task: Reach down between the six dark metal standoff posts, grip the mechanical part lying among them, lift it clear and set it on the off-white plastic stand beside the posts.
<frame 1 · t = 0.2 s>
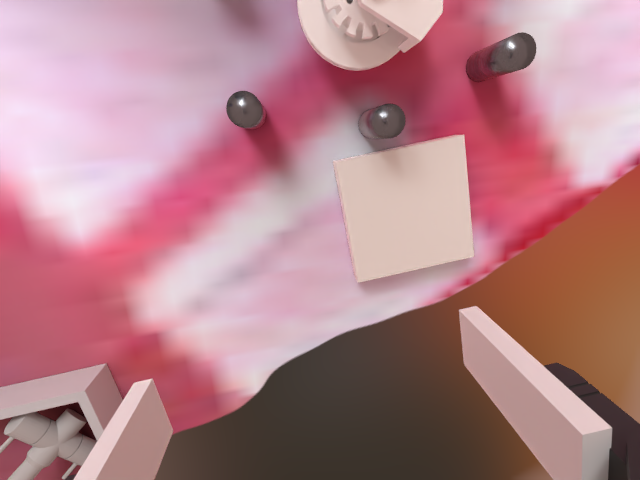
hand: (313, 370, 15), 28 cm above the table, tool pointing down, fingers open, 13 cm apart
storage bin: (21, 447, 47), on the table
faucet: (25, 447, 47), resting in storage bin
standoff posts: (355, 17, 36), on the table
parts stand: (401, 207, 42), on the table
mechanical part: (355, 17, 36), on the table
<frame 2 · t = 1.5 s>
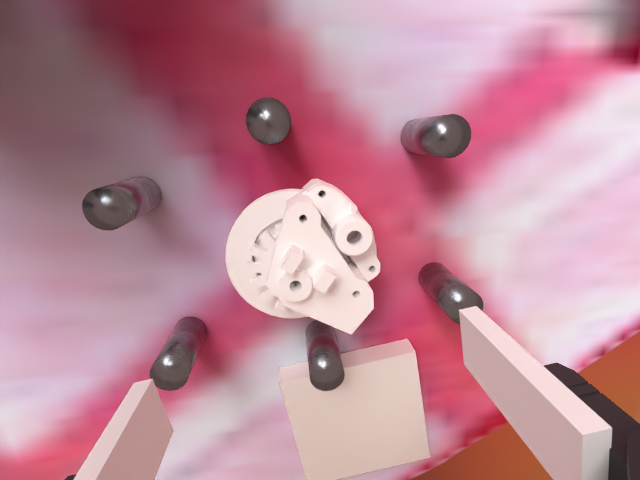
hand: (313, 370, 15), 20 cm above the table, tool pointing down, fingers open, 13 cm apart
standoff posts: (298, 238, 34), on the table
parts stand: (354, 405, 40), on the table
mechanical part: (298, 237, 34), on the table
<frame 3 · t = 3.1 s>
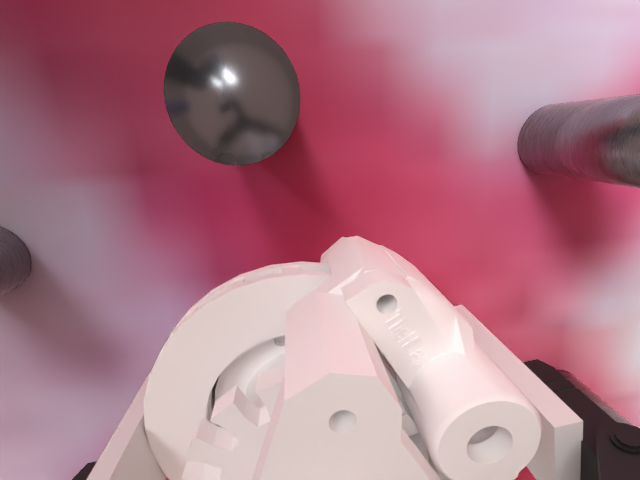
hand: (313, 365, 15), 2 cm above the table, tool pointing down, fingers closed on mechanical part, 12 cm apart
standoff posts: (309, 334, 18), on the table
mechanical part: (309, 332, 18), on the table, touching gripper
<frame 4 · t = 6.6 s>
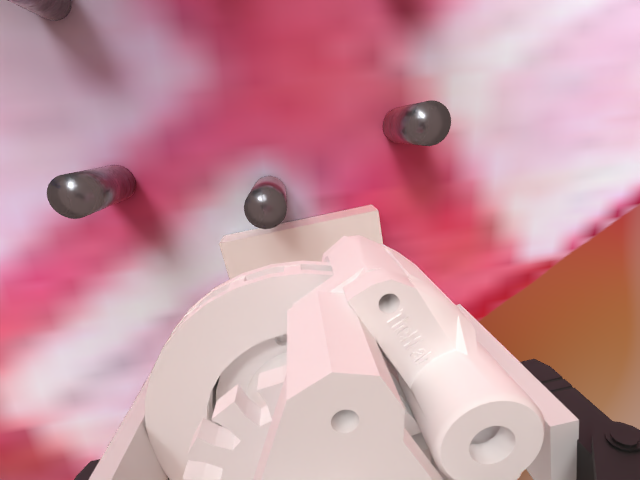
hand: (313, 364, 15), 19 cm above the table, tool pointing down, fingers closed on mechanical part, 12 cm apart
standoff posts: (239, 66, 29), on the table
parts stand: (312, 287, 35), on the table
mechanical part: (310, 331, 18), point 17 cm above the table, touching gripper
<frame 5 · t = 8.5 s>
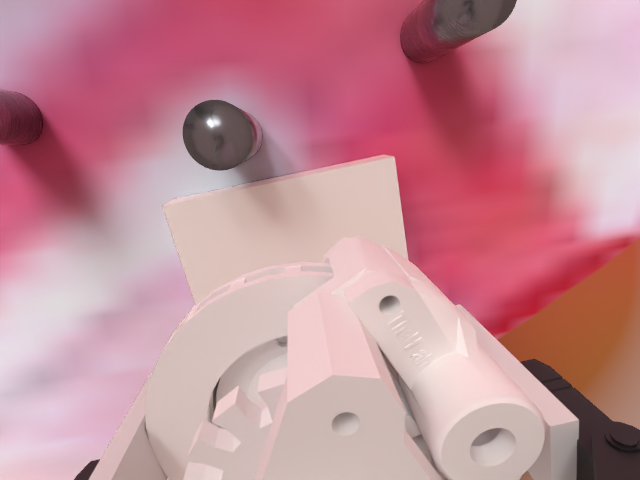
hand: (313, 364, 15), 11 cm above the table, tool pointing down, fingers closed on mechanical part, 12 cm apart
parts stand: (302, 273, 26), on the table
mechanical part: (311, 332, 18), point 8 cm above the table, touching gripper
when the fingers open (6 cm above the table, at t = 10.0 s): mechanical part drops 1 cm, resting on parts stand.
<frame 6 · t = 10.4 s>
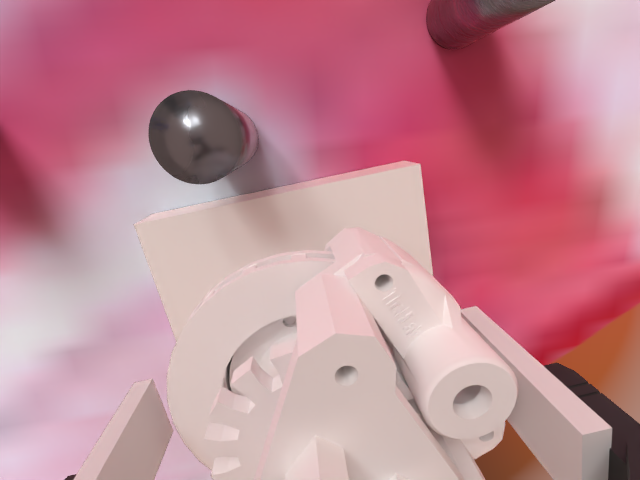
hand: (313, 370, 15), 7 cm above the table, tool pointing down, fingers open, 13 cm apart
parts stand: (306, 300, 22), on the table
mechanical part: (314, 319, 19), point 2 cm above the table, touching parts stand
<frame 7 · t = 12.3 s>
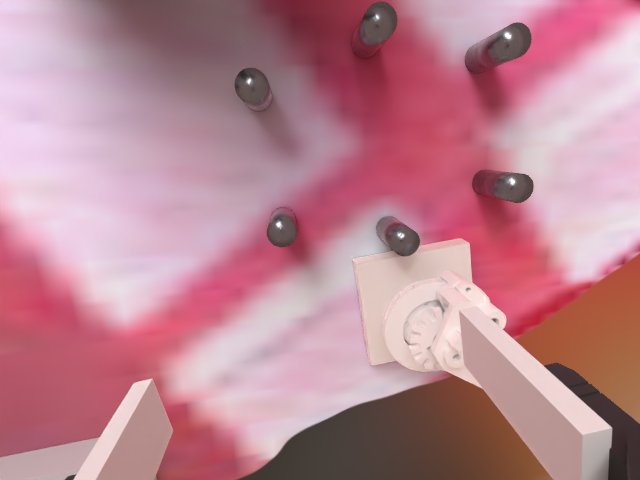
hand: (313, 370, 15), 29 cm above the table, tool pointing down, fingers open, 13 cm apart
standoff posts: (377, 141, 42), on the table
parts stand: (412, 298, 47), on the table
mechanical part: (420, 305, 45), point 2 cm above the table, touching parts stand
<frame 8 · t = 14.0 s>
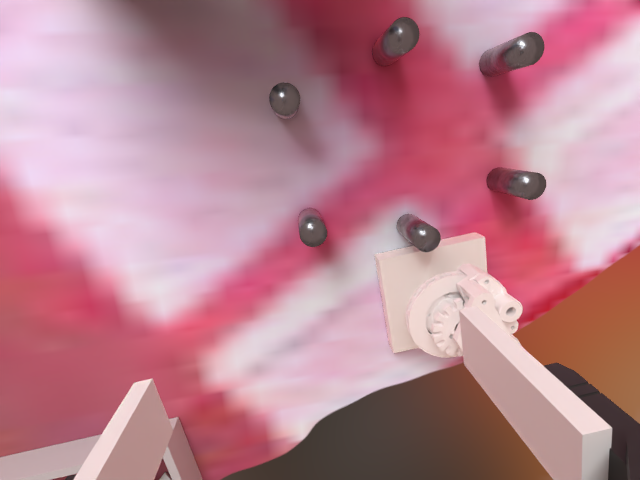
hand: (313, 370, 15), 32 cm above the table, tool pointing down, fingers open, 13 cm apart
standoff posts: (397, 144, 44), on the table
parts stand: (430, 289, 50), on the table
mechanical part: (439, 296, 48), point 2 cm above the table, touching parts stand
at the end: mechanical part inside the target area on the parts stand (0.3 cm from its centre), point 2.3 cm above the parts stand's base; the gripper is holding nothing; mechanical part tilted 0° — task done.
